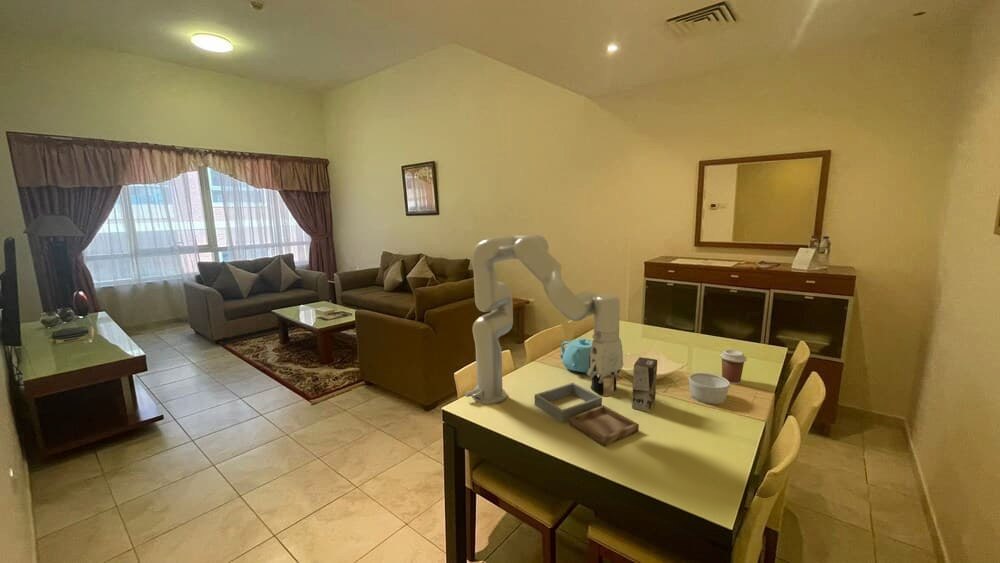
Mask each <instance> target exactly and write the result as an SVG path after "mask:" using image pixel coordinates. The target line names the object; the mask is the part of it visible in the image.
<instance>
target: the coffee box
mask: <svg viewBox="0 0 1000 563" xmlns="http://www.w3.org/2000/svg"><path fill="white" fill-rule="evenodd" d="M632 372H633V376H632V396H631V397H632V398H631V409H635V410H639V411H643V412H646V413H650V412H651V411H652V410H653V407H654V405H655V403H656V394H657V375H658V374H657V373H658V359H654V358H648V357H641V356H639V357H638V358H637V360H636V361H635V362H634V364H633V371H632Z"/></svg>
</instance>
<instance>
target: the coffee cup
mask: <svg viewBox="0 0 1000 563" xmlns="http://www.w3.org/2000/svg"><path fill="white" fill-rule="evenodd" d="M719 357H720V358H721V377H723V378H725V379H726V380H728V381H729V383H730V385H740V384H741V380H742V375H743V371H744V365H745V362H747V359H748V358H747V357H746V356H745V353H743V351H740V350H737V349H731V348H729V349H724V350H723V352H722V353H720V355H719Z"/></svg>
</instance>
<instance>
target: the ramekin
mask: <svg viewBox="0 0 1000 563" xmlns="http://www.w3.org/2000/svg"><path fill="white" fill-rule="evenodd" d="M688 381H689V383H688V384H689V393H690V395H691V397H692V398H693V399H695V400H696V401H699V402H700V403H704V404H711V405H719V404H723V403H724V402H725V401H726V399H727V397H728V391H729V389H730V388H731V387H730V386H731V384H730V383H729V381H728V380H726V379H725V378H723V377H722V375H721V376H720V375H717V374H715V373H708V372H695V373H691V374H690V375H689V376H688Z"/></svg>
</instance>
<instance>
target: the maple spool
mask: <svg viewBox="0 0 1000 563" xmlns="http://www.w3.org/2000/svg"><path fill="white" fill-rule="evenodd" d="M597 377H598V378H599V374H598V375H597ZM602 383H603V395H599V394H597V395H598V396H600V397H602V398H612V397H614V394H615V392H614V375H613V374H611V373H609V374H606V375H603V379H602Z"/></svg>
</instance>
